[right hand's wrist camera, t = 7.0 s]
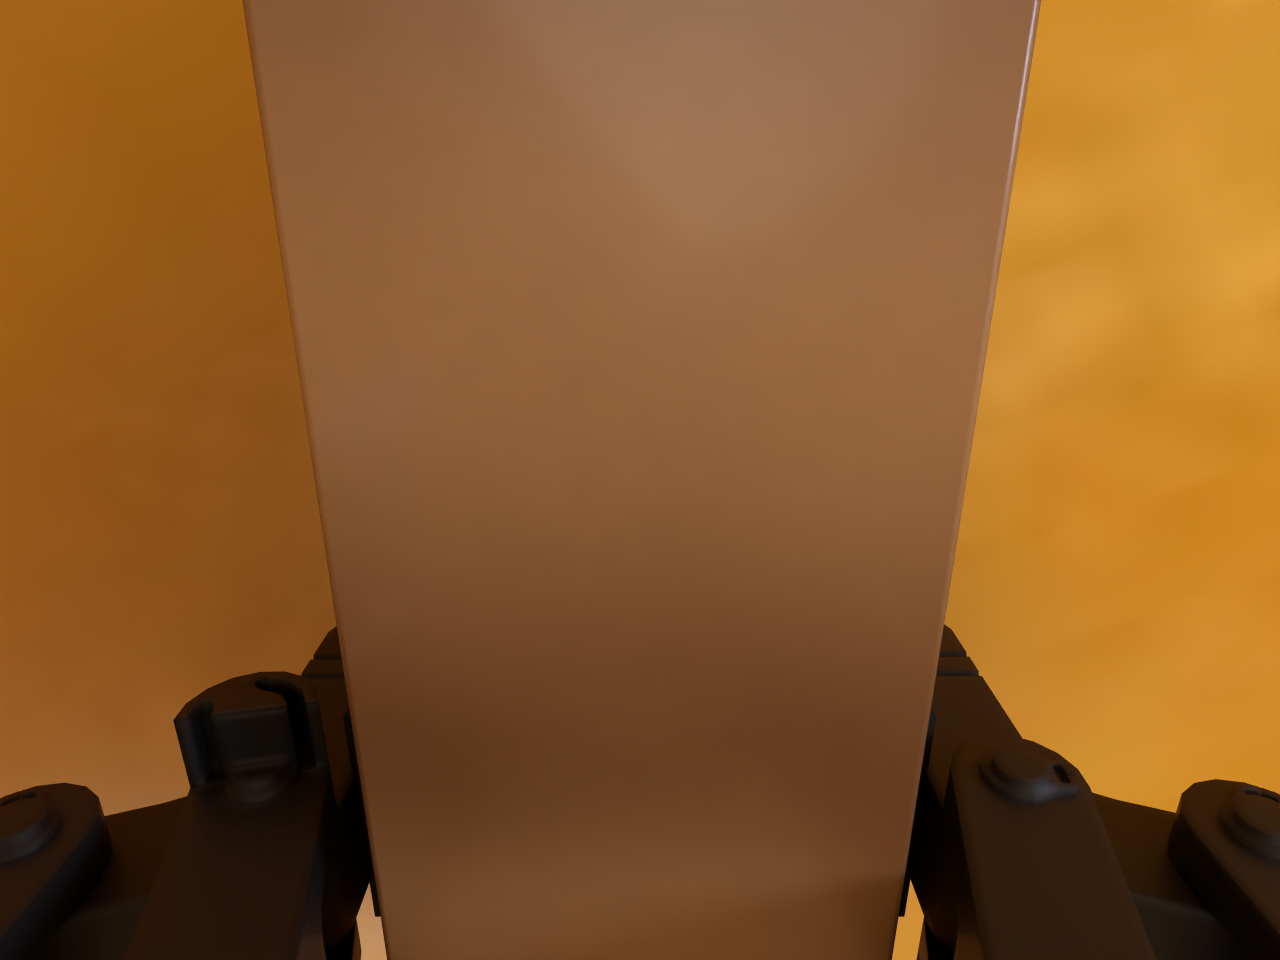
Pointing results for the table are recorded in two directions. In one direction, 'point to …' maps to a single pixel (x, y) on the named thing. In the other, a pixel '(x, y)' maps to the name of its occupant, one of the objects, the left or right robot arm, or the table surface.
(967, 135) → the beam
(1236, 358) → the table surface
